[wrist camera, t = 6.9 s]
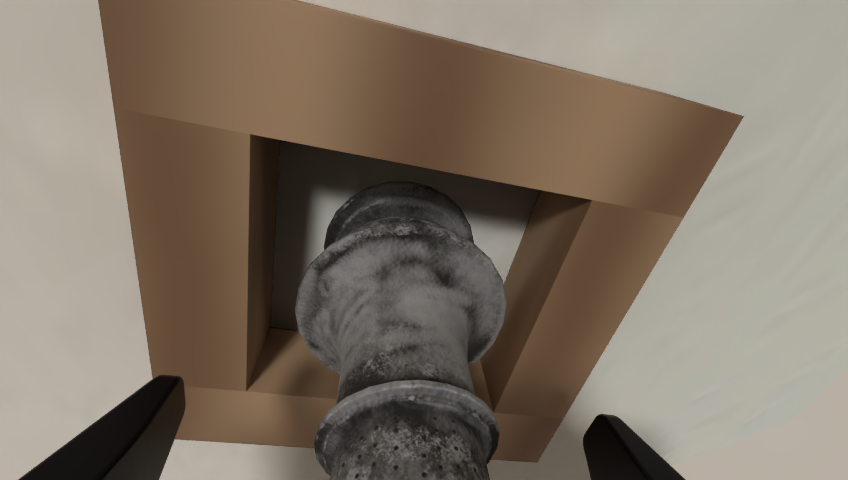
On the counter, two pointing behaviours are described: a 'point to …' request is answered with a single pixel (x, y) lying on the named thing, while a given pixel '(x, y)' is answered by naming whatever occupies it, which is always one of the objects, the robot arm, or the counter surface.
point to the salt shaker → (402, 337)
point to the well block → (393, 141)
